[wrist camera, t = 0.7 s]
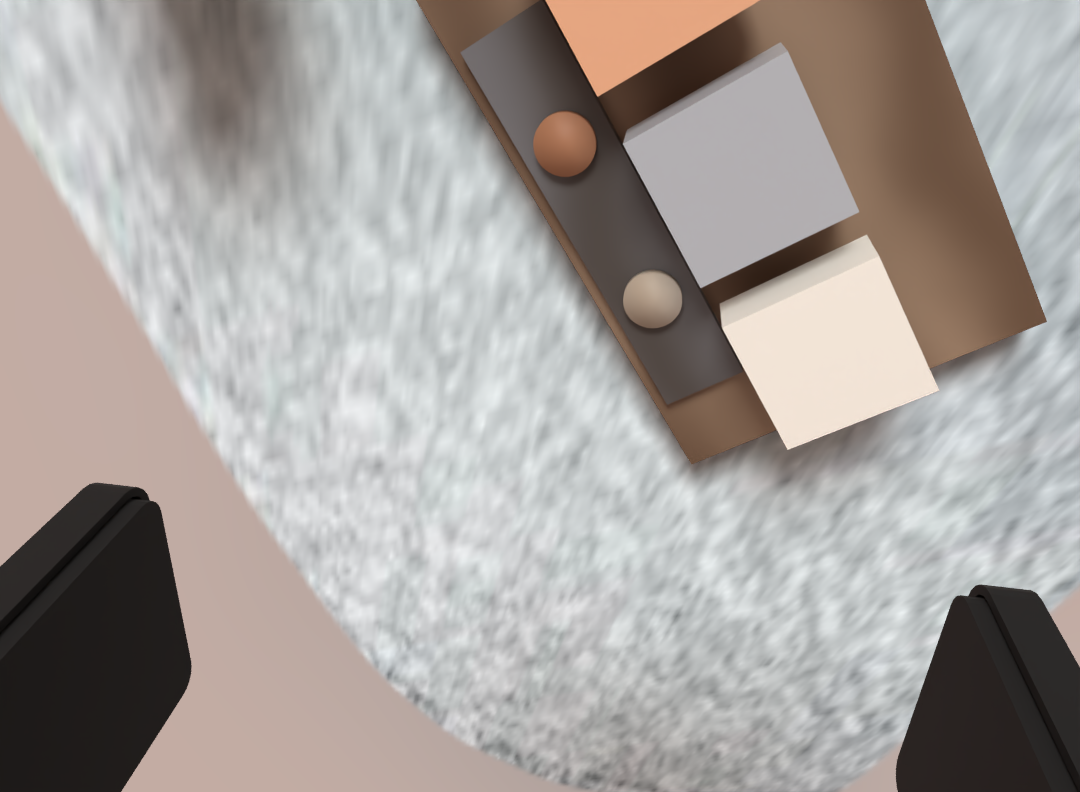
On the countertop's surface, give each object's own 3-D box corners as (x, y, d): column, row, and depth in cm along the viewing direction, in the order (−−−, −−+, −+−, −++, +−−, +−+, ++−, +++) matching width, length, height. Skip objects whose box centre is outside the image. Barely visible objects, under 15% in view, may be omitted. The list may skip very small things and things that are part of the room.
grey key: (780, 42, 25) (787, 50, 23) (848, 192, 27) (859, 212, 25) (626, 129, 27) (622, 143, 25) (699, 265, 28) (700, 288, 27)
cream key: (866, 234, 27) (879, 256, 25) (923, 362, 29) (939, 390, 27) (719, 303, 29) (721, 327, 27) (781, 420, 31) (787, 449, 29)
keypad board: (794, -307, 24) (806, -333, 21) (1026, 299, 31) (1056, 332, 28) (415, -34, 28) (388, -30, 26) (691, 437, 35) (691, 477, 33)
